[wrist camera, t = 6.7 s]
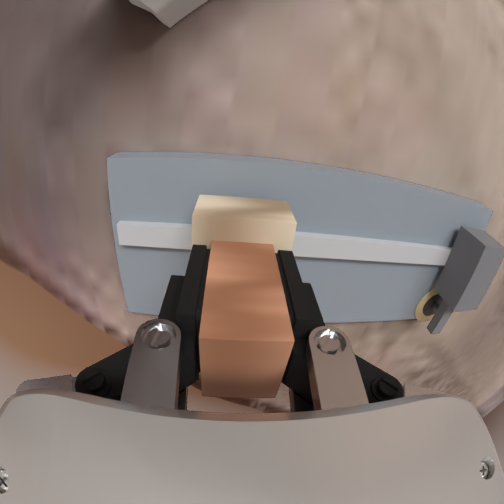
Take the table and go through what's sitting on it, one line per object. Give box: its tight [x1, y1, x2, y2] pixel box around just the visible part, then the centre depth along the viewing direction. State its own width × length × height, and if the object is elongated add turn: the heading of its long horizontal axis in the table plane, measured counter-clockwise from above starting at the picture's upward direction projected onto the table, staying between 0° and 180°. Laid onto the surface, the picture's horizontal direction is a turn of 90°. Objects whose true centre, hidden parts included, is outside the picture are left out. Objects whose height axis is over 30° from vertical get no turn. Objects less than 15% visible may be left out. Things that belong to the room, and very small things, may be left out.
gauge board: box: [107, 152, 504, 334], centre depth 15 cm, size 25×10×5 cm, turn 84°
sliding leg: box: [192, 195, 297, 398], centre depth 12 cm, size 4×8×8 cm, turn 174°
